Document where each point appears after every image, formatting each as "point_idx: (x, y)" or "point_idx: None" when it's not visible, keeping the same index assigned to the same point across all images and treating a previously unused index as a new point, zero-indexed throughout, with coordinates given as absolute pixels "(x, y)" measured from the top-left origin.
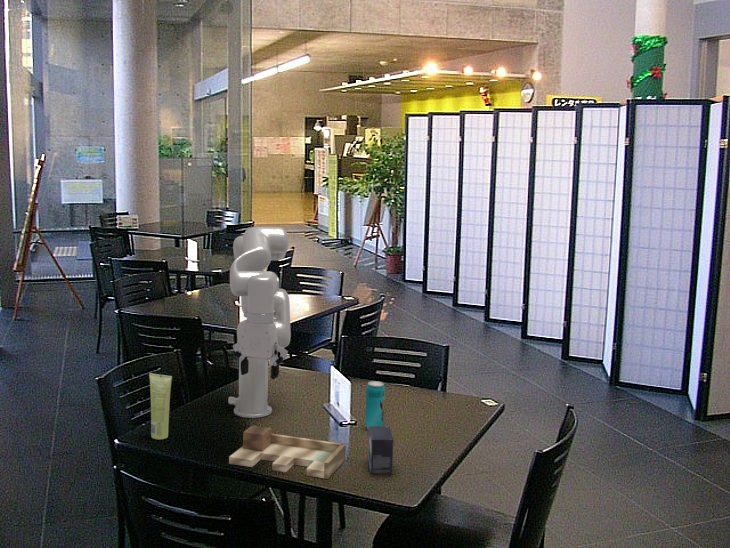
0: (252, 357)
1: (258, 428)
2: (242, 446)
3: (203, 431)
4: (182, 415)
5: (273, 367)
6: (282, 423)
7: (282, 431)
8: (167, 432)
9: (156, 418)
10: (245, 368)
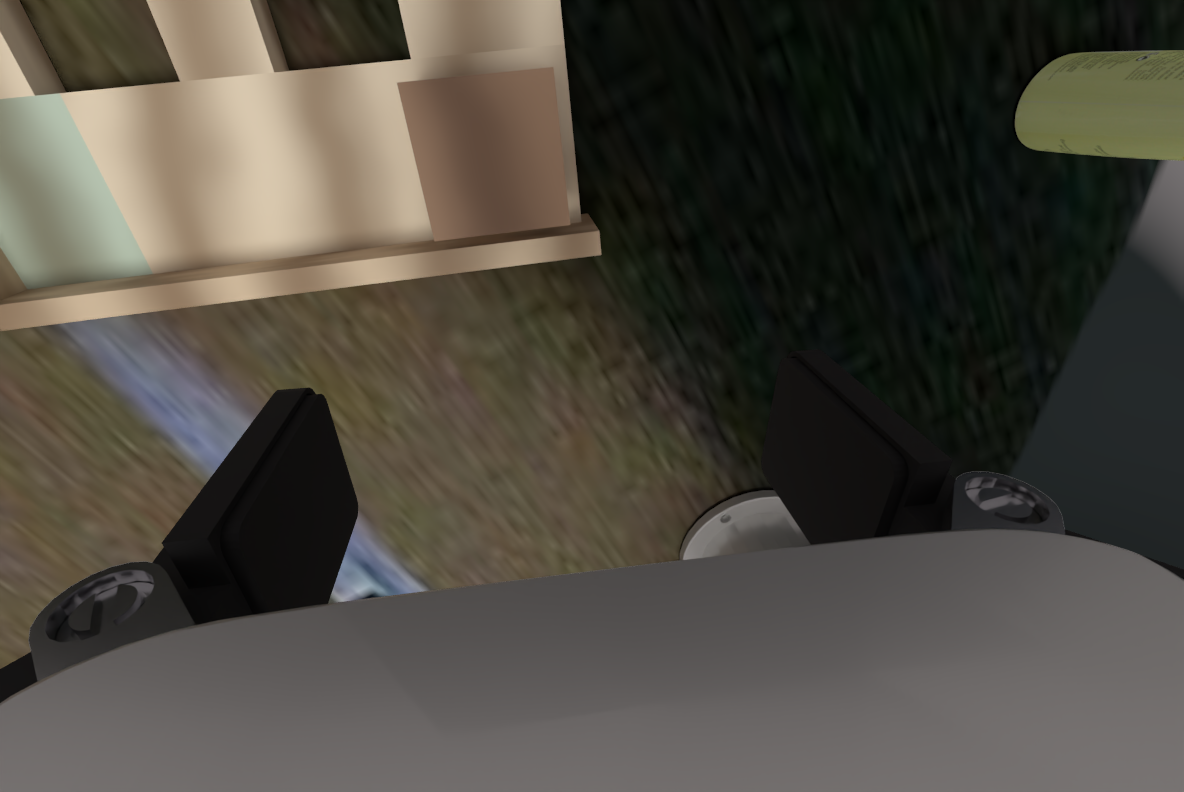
0: (735, 555)
1: (500, 191)
2: (567, 105)
3: (866, 282)
4: (1003, 395)
5: (189, 529)
6: (592, 513)
7: (545, 448)
8: (1037, 113)
9: None
10: (810, 446)
